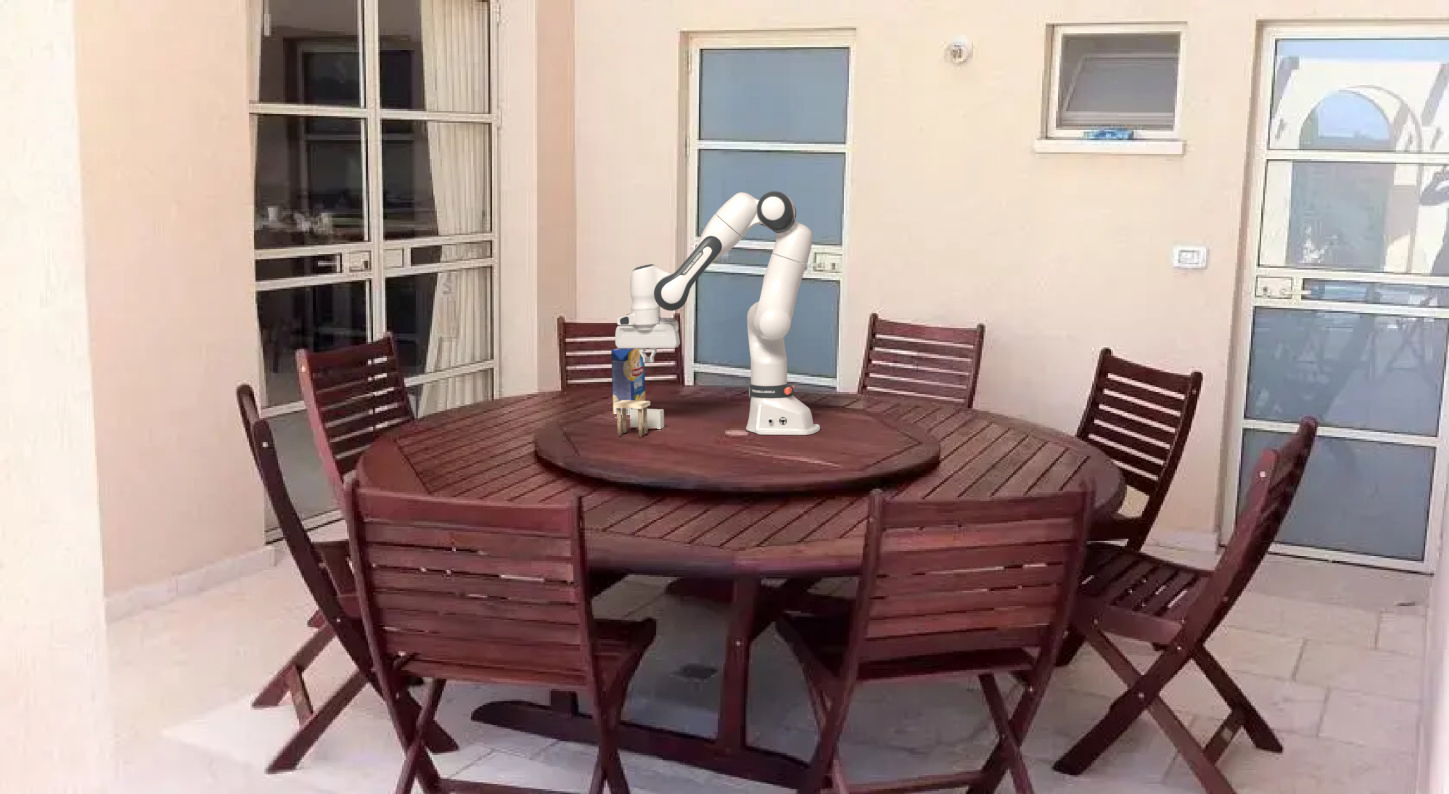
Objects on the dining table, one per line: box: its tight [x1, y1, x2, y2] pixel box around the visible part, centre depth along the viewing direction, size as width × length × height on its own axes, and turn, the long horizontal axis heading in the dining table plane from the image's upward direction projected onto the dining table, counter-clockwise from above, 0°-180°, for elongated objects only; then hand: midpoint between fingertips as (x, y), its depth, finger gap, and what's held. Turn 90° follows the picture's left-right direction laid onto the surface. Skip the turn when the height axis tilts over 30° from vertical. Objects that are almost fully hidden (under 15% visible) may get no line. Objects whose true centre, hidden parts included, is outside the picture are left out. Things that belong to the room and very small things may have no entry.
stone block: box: [629, 408, 665, 429], centre depth 417 cm, size 10×3×6 cm, turn 72°
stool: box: [612, 400, 651, 437], centre depth 405 cm, size 9×7×10 cm
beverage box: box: [610, 348, 646, 415], centre depth 441 cm, size 7×11×22 cm, turn 160°
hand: (648, 362), depth 415 cm, fingers closed
